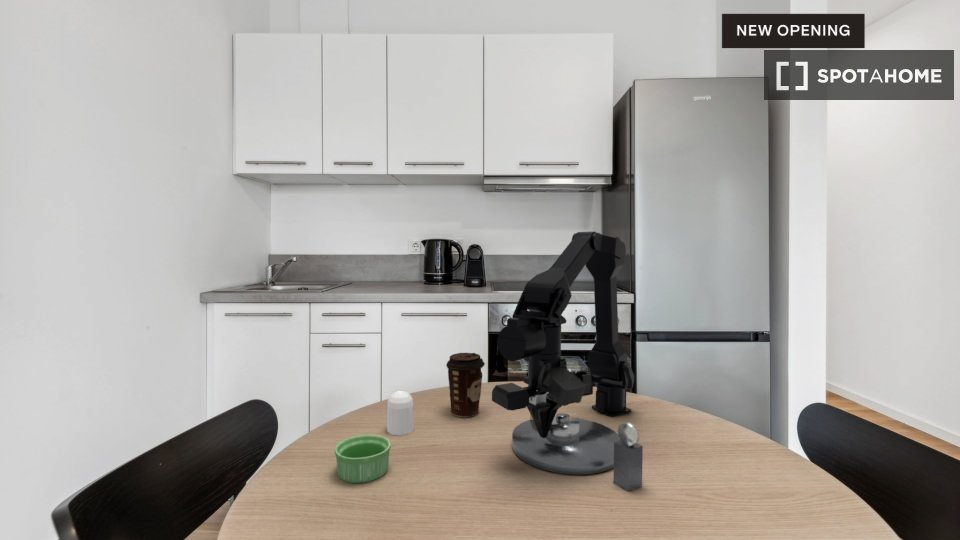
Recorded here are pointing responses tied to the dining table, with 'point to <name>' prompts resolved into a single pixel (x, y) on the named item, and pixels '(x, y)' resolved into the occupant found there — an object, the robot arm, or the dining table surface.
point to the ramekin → (362, 458)
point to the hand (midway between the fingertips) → (543, 437)
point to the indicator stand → (628, 458)
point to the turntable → (567, 449)
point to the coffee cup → (465, 383)
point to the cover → (564, 430)
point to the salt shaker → (400, 413)
